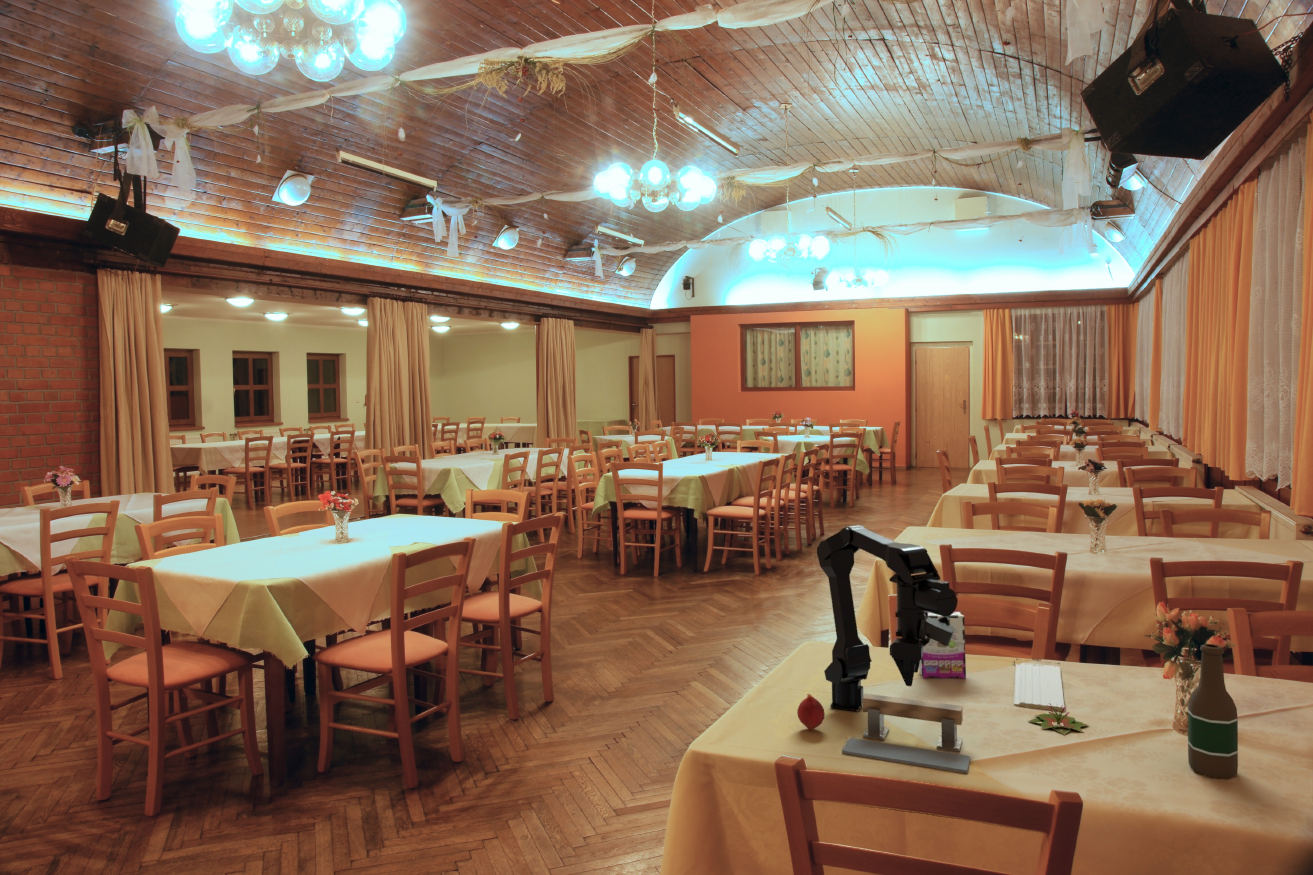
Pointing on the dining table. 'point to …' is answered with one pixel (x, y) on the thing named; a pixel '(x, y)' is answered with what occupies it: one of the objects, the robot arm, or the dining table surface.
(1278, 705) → the dining table surface
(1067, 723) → the lily flower
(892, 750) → the mat
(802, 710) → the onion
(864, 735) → the post left
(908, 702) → the rail
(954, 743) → the post right
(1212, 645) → the beer bottle
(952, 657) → the candy bar box
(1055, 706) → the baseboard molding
